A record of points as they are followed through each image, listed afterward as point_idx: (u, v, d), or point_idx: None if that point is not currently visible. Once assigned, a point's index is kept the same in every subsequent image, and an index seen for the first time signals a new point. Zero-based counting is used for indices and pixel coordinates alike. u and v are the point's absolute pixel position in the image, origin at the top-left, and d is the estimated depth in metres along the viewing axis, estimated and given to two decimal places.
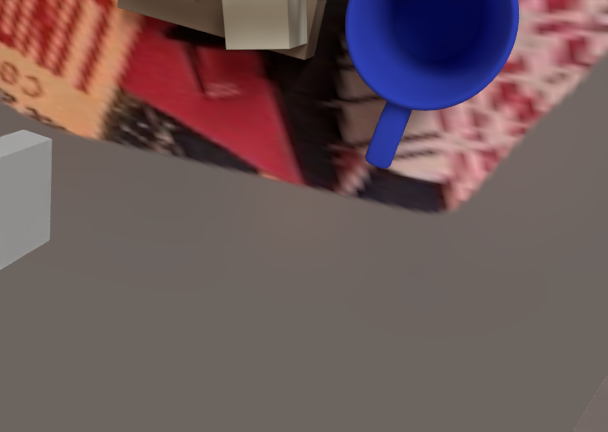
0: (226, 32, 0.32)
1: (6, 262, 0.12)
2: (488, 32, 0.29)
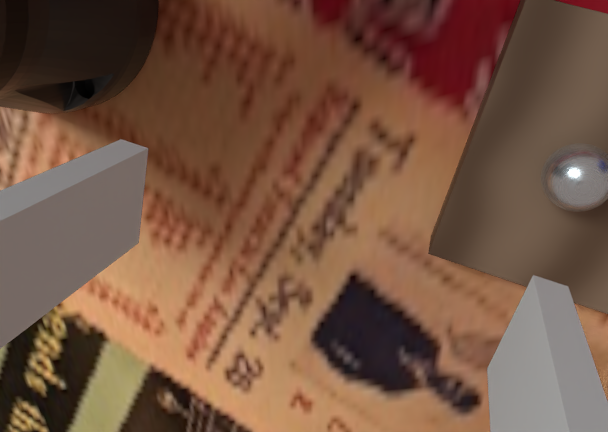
0: None
1: (106, 264, 0.13)
2: None
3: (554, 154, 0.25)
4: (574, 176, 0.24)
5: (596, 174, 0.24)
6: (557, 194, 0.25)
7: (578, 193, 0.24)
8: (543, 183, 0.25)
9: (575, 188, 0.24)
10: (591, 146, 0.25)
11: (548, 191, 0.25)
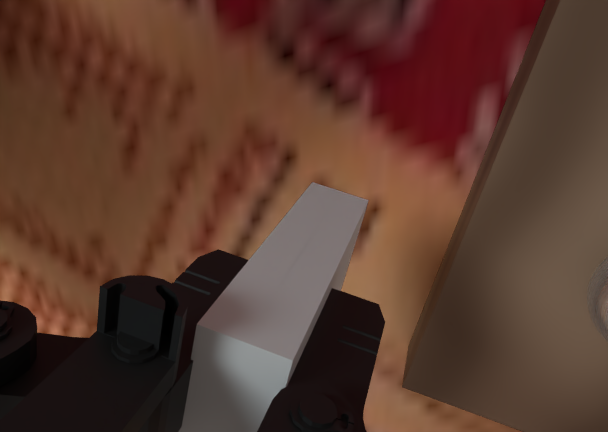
0: None
1: None
2: None
3: None
4: None
5: None
6: None
7: None
8: (593, 311, 0.15)
9: None
10: None
11: (603, 328, 0.14)
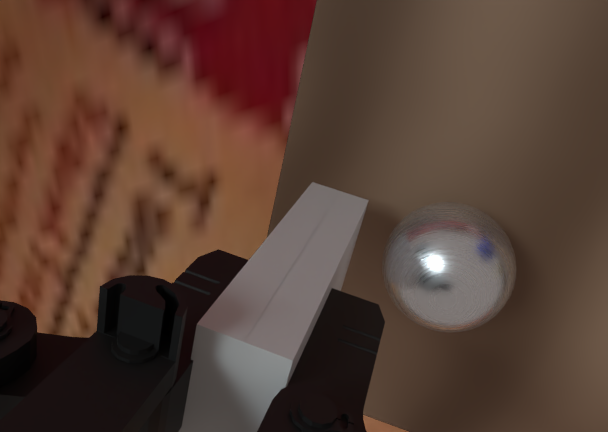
0: None
1: None
2: None
3: (400, 224, 0.13)
4: (427, 275, 0.12)
5: (467, 273, 0.12)
6: (402, 305, 0.13)
7: (436, 308, 0.12)
8: (383, 278, 0.13)
9: (429, 298, 0.12)
10: (464, 211, 0.13)
11: (390, 295, 0.13)
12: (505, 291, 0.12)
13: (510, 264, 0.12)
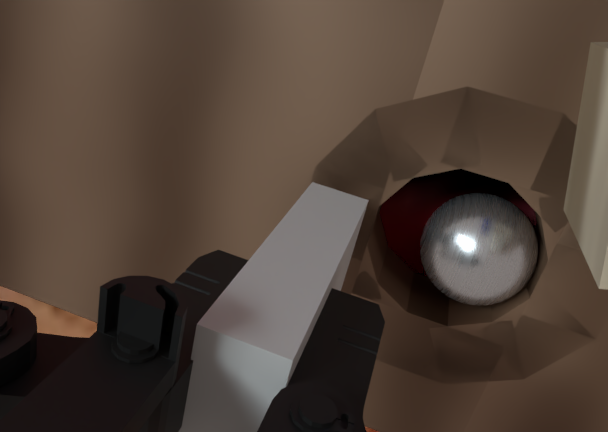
0: None
1: None
2: None
3: (491, 249, 0.14)
4: (535, 262, 0.15)
5: None
6: None
7: None
8: (486, 296, 0.14)
9: None
10: (503, 203, 0.15)
11: (494, 301, 0.15)
12: None
13: None
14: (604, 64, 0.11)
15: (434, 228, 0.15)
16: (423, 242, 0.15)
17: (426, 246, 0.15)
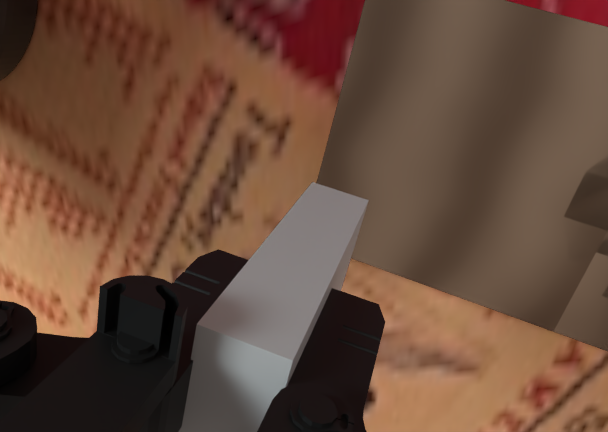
0: None
1: None
2: None
3: None
4: None
5: None
6: None
7: None
8: None
9: None
10: None
11: None
12: None
13: None
14: None
15: None
16: None
17: None
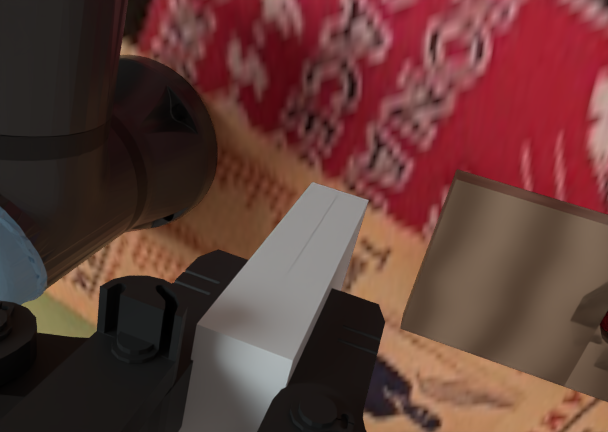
0: None
1: None
2: None
3: None
4: None
5: None
6: None
7: None
8: None
9: None
10: None
11: None
12: None
13: None
14: None
15: None
16: None
17: None
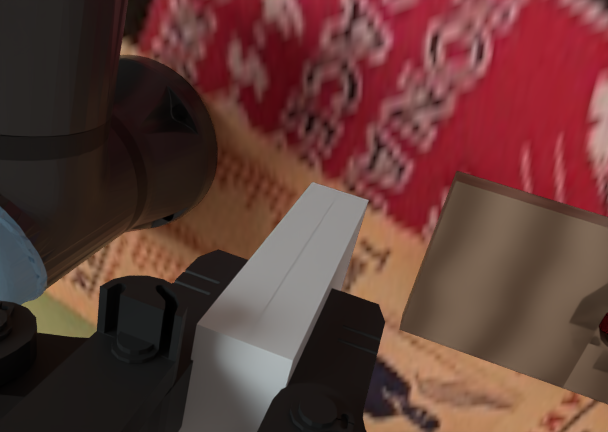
0: None
1: None
2: None
3: None
4: None
5: None
6: None
7: None
8: None
9: None
10: None
11: None
12: None
13: None
14: None
15: None
16: None
17: None
